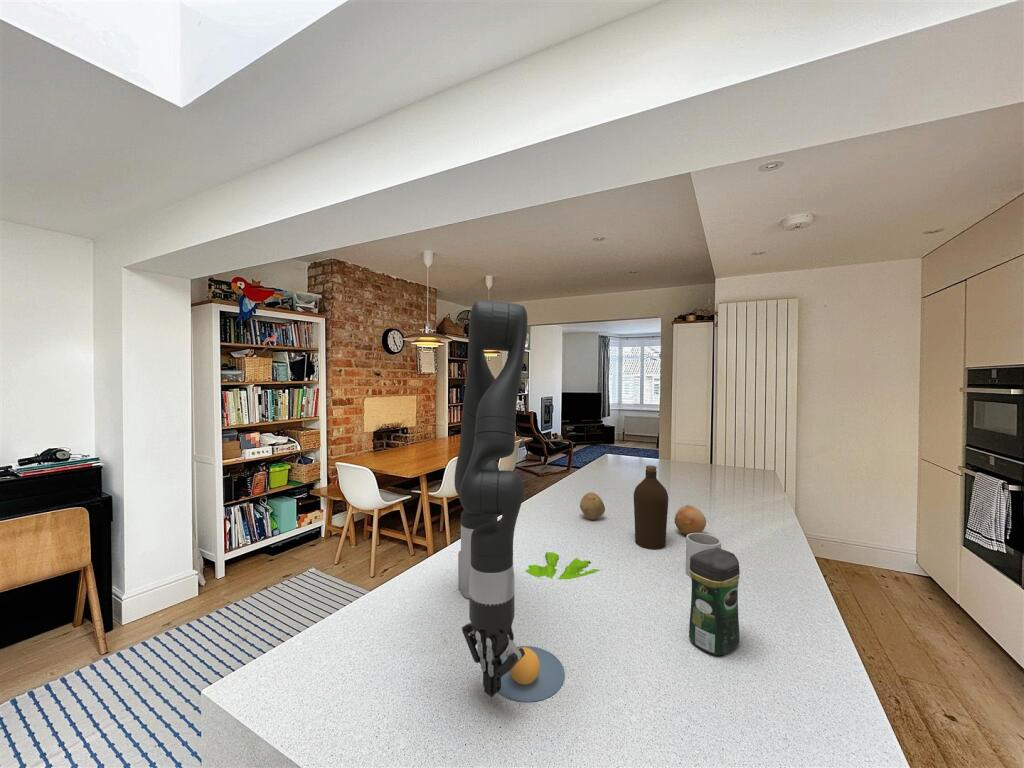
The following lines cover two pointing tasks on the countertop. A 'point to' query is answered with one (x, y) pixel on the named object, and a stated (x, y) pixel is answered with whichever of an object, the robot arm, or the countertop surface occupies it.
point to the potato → (592, 506)
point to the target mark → (542, 685)
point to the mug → (699, 545)
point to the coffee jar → (714, 601)
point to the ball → (526, 668)
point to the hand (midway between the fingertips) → (491, 692)
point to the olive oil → (650, 511)
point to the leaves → (550, 571)
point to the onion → (690, 520)
